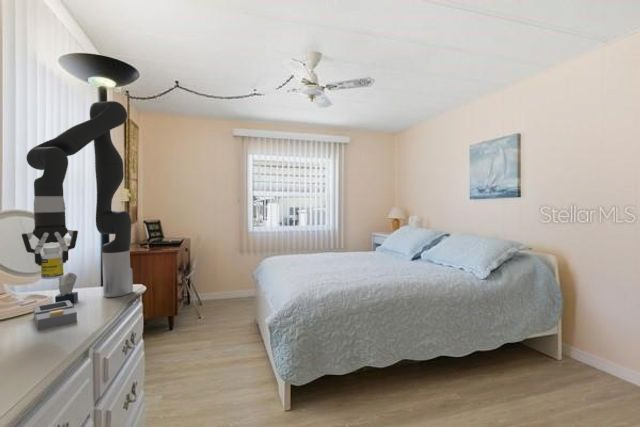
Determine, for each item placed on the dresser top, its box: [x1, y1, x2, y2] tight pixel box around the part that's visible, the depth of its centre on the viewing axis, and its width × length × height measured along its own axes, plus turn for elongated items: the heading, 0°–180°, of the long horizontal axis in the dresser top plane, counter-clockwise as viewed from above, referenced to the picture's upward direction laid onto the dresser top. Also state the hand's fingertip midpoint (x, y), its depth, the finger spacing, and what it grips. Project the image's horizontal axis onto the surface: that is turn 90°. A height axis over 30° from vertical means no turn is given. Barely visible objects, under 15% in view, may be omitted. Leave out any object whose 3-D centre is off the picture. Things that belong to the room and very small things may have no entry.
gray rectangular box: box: [33, 300, 78, 331], centre depth 102 cm, size 21×9×4 cm, turn 45°
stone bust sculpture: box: [54, 271, 79, 305], centre depth 117 cm, size 6×8×11 cm
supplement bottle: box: [40, 245, 64, 280], centre depth 101 cm, size 5×5×10 cm
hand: (52, 263), depth 101 cm, fingers closed on supplement bottle, 5 cm apart
